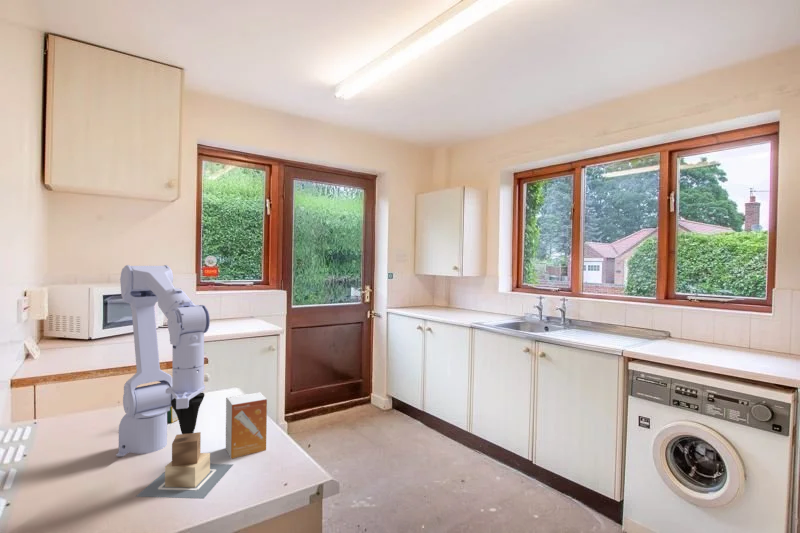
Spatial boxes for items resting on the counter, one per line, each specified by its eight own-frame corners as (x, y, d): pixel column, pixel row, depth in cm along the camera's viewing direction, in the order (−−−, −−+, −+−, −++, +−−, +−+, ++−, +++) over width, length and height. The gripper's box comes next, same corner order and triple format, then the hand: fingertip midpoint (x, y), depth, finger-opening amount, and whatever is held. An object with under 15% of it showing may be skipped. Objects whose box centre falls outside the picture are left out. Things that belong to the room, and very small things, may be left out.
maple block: (165, 486, 82) (165, 466, 82) (181, 471, 88) (181, 452, 88) (195, 487, 82) (195, 467, 82) (209, 472, 88) (210, 453, 88)
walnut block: (171, 466, 82) (172, 443, 82) (176, 456, 86) (176, 434, 86) (197, 463, 83) (197, 441, 83) (200, 453, 87) (200, 432, 87)
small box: (230, 462, 94) (231, 404, 94) (225, 451, 99) (225, 396, 99) (267, 453, 98) (267, 398, 98) (259, 443, 103) (260, 391, 103)
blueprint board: (135, 500, 78) (135, 495, 78) (175, 466, 91) (175, 462, 91) (203, 502, 78) (203, 497, 78) (233, 468, 91) (233, 463, 91)
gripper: (173, 358, 90) (173, 421, 90) (157, 376, 76) (157, 450, 76) (208, 356, 92) (208, 417, 92) (200, 373, 79) (199, 445, 79)
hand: (188, 432), depth 85 cm, fingers closed
